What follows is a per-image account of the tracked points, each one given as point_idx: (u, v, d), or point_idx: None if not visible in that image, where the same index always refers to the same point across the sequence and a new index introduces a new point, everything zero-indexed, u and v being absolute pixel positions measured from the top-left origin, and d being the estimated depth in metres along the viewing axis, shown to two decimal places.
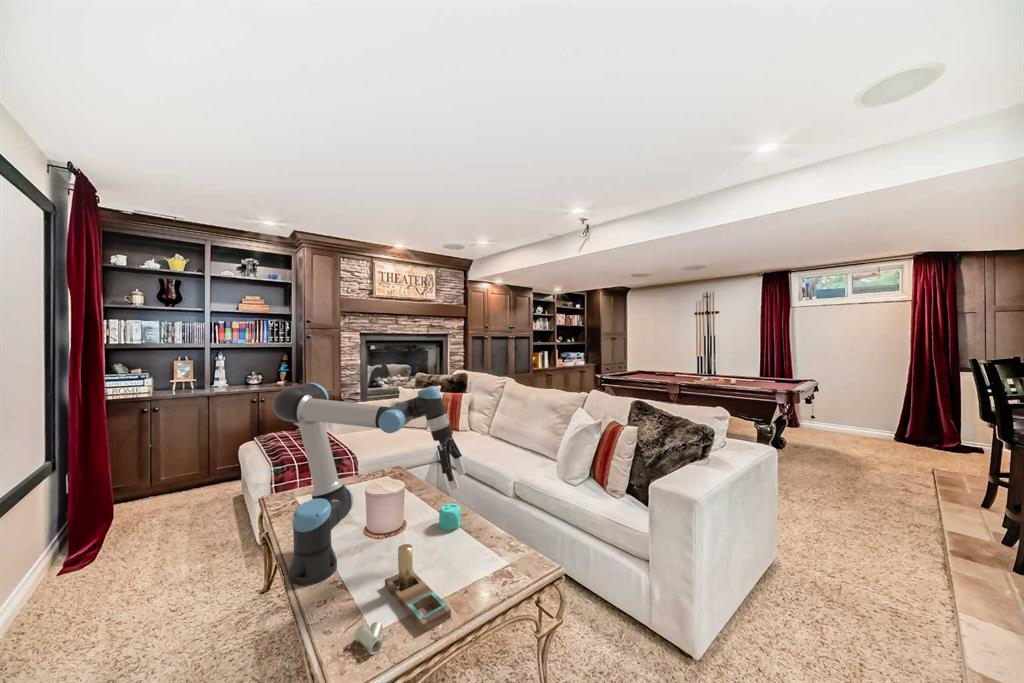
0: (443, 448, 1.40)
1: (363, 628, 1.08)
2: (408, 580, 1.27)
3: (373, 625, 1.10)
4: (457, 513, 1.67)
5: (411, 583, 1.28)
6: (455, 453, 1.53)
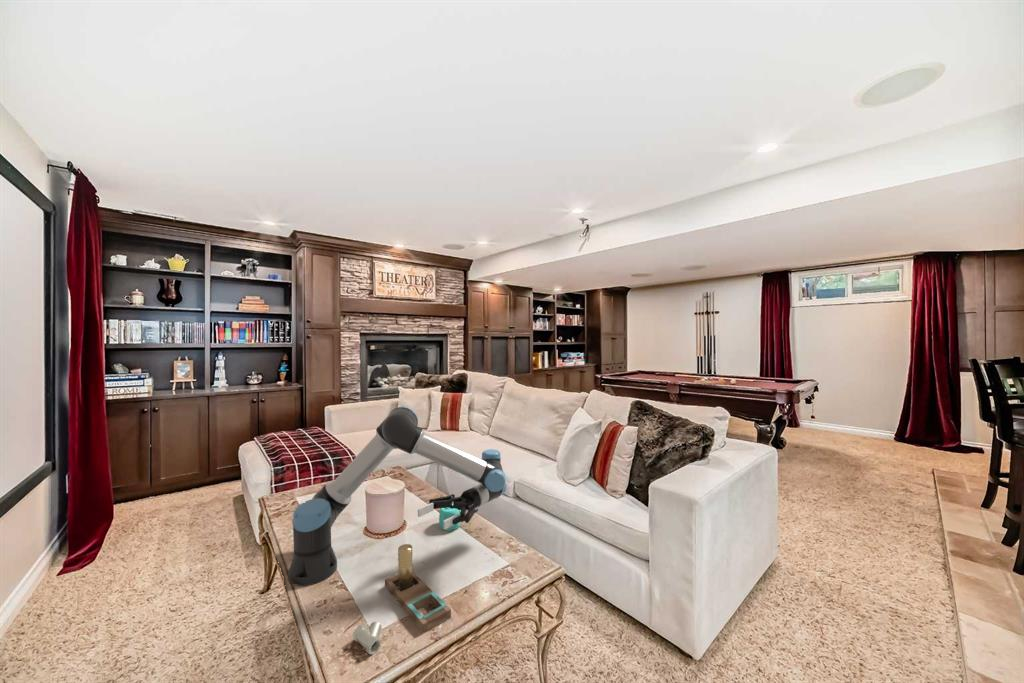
0: (475, 511, 1.43)
1: (362, 628, 1.08)
2: (408, 580, 1.27)
3: (372, 625, 1.10)
4: (457, 513, 1.67)
5: (411, 583, 1.28)
6: (440, 506, 1.46)
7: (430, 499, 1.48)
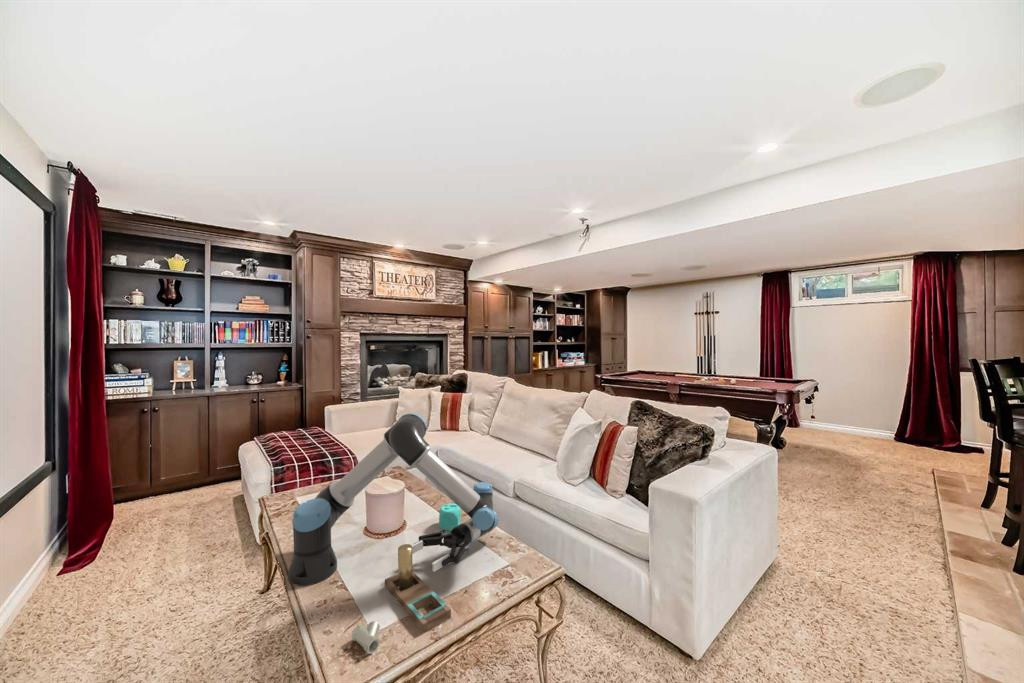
0: (466, 549, 1.39)
1: (360, 627, 1.08)
2: (408, 580, 1.27)
3: (370, 624, 1.10)
4: (457, 513, 1.67)
5: (411, 583, 1.28)
6: (429, 544, 1.42)
7: (419, 536, 1.44)
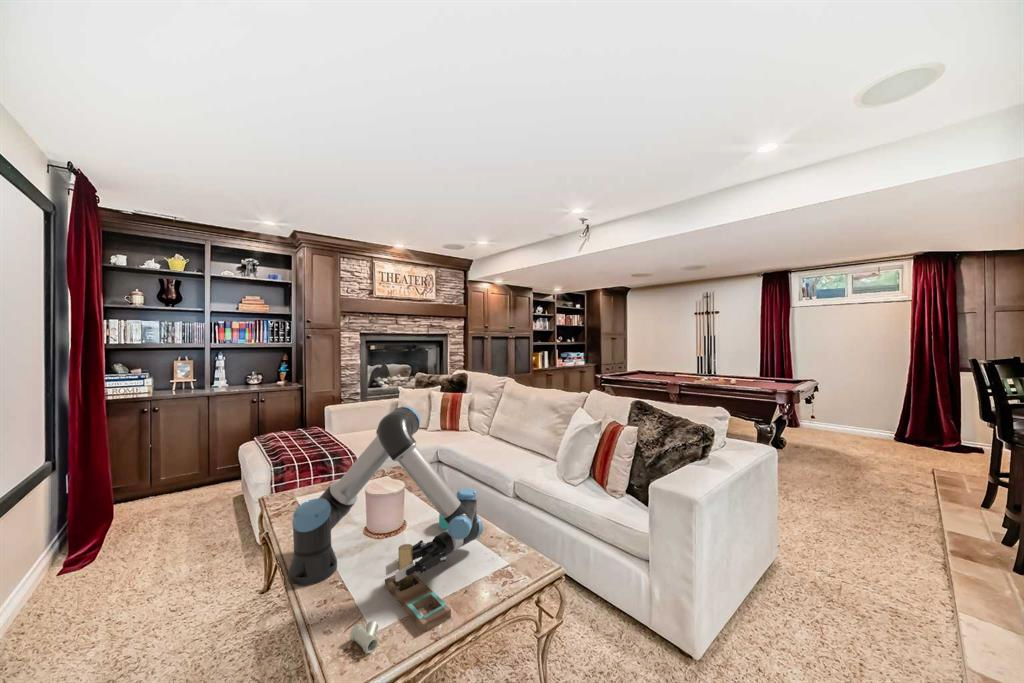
0: (442, 561, 1.32)
1: (359, 627, 1.08)
2: (408, 580, 1.27)
3: (369, 624, 1.10)
4: None
5: (411, 583, 1.28)
6: None
7: None
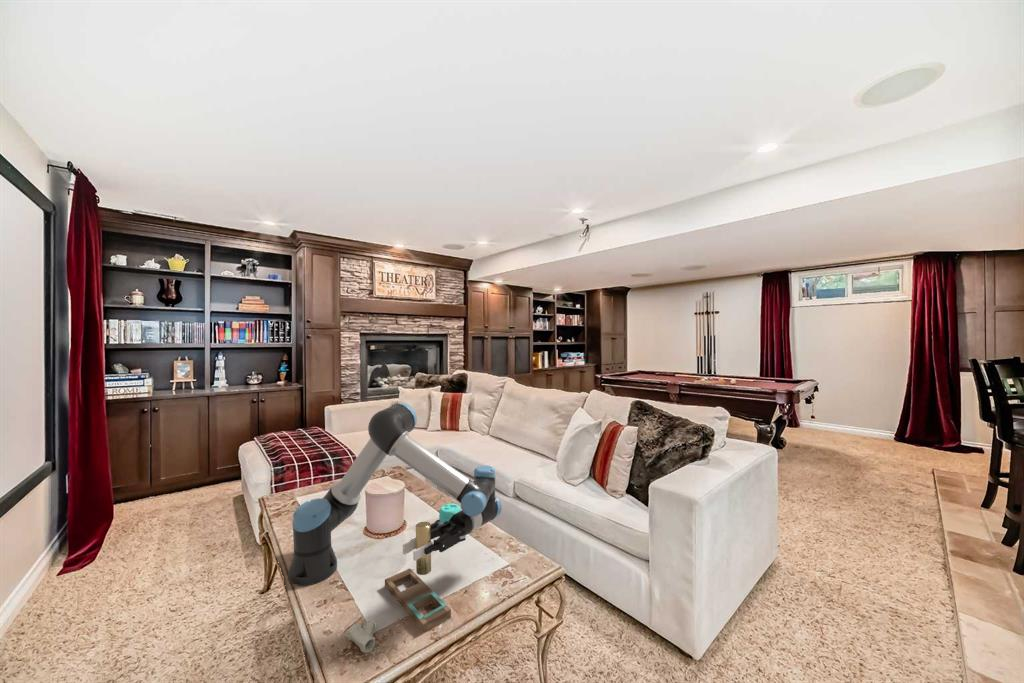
0: (461, 540, 1.24)
1: (356, 627, 1.08)
2: (426, 559, 1.19)
3: (366, 624, 1.10)
4: None
5: (430, 563, 1.20)
6: None
7: None
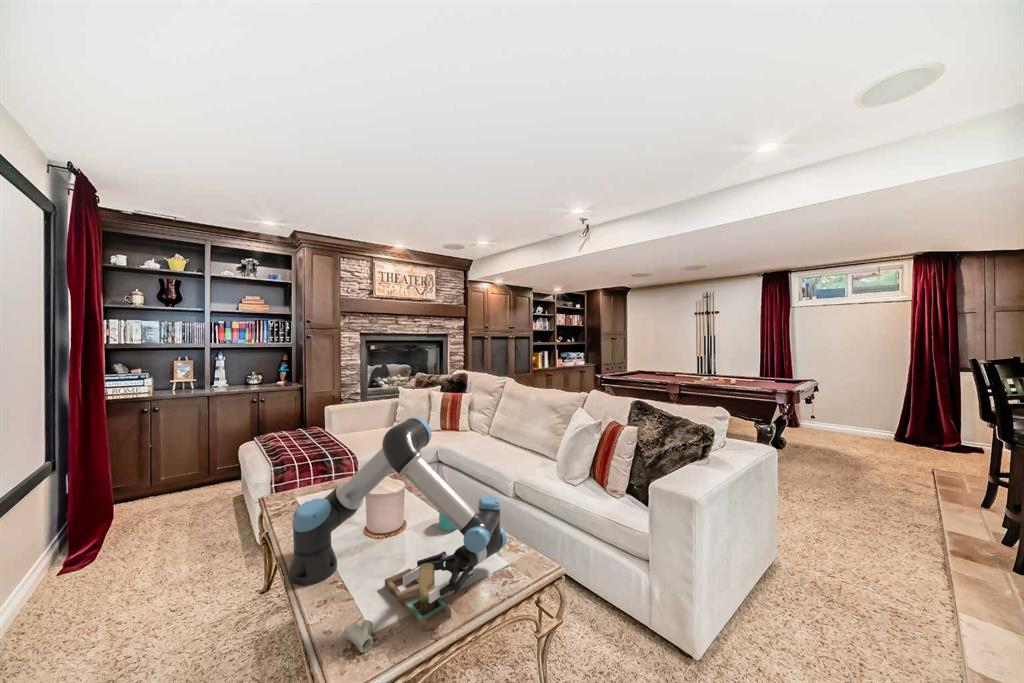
0: (470, 575, 1.22)
1: (353, 626, 1.09)
2: (430, 603, 1.16)
3: (364, 623, 1.10)
4: None
5: (433, 606, 1.17)
6: None
7: None
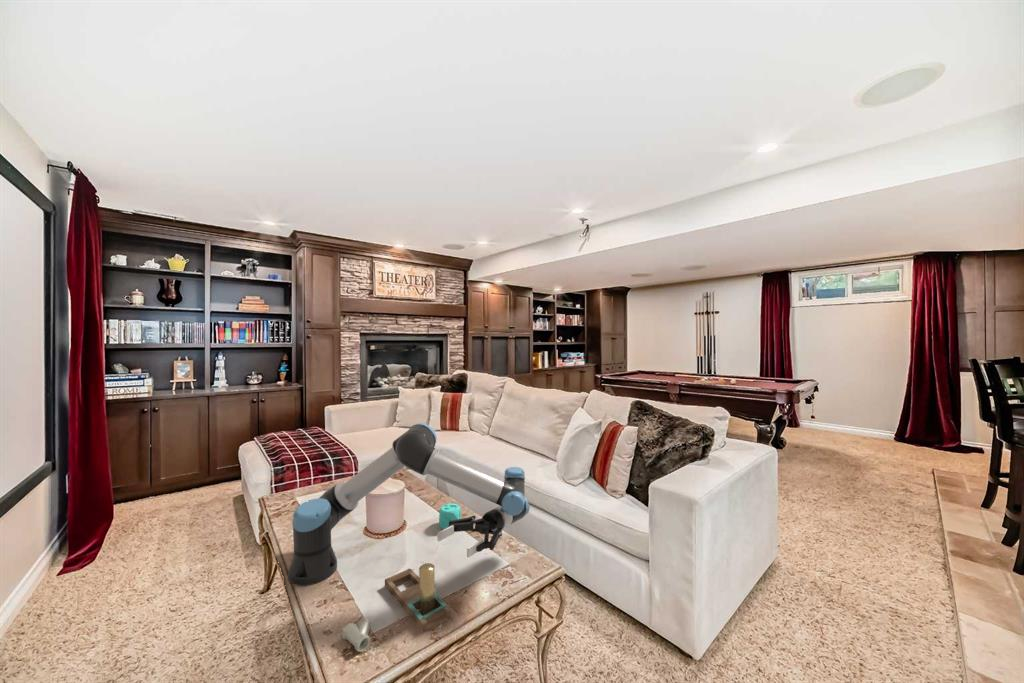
0: (500, 535, 1.32)
1: (351, 626, 1.09)
2: (430, 603, 1.16)
3: (361, 623, 1.11)
4: (457, 513, 1.67)
5: (433, 606, 1.17)
6: (460, 529, 1.35)
7: (450, 521, 1.37)
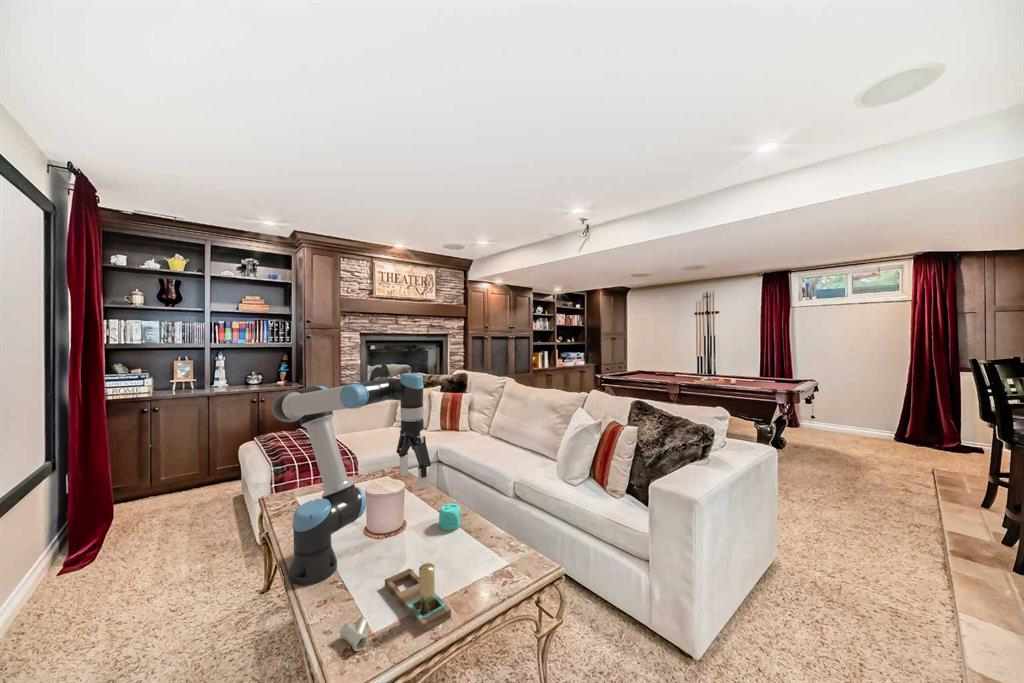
0: (424, 441, 1.31)
1: (348, 625, 1.09)
2: (430, 603, 1.16)
3: (358, 622, 1.11)
4: (457, 513, 1.67)
5: (433, 606, 1.17)
6: (407, 450, 1.40)
7: (396, 451, 1.42)
